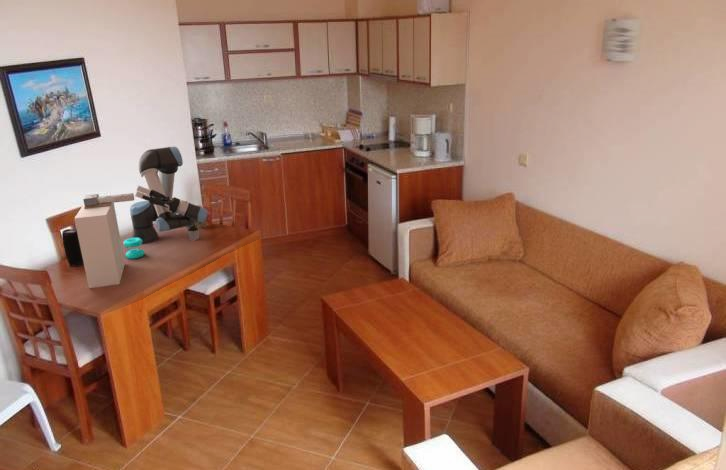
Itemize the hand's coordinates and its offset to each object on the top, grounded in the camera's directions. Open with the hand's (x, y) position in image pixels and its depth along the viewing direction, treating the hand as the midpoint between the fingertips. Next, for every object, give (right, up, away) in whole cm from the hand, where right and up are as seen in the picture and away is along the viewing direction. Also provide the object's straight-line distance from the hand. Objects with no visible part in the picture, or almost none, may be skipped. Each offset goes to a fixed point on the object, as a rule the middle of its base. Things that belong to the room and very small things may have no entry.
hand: (136, 190), depth 290 cm
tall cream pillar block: (-16, -44, +2) cm, 47 cm away
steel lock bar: (-13, -6, -1) cm, 14 cm away
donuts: (-12, -35, +28) cm, 47 cm away
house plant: (+15, -26, +53) cm, 61 cm away
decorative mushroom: (+12, -18, +76) cm, 79 cm away
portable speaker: (-41, -39, +19) cm, 60 cm away
